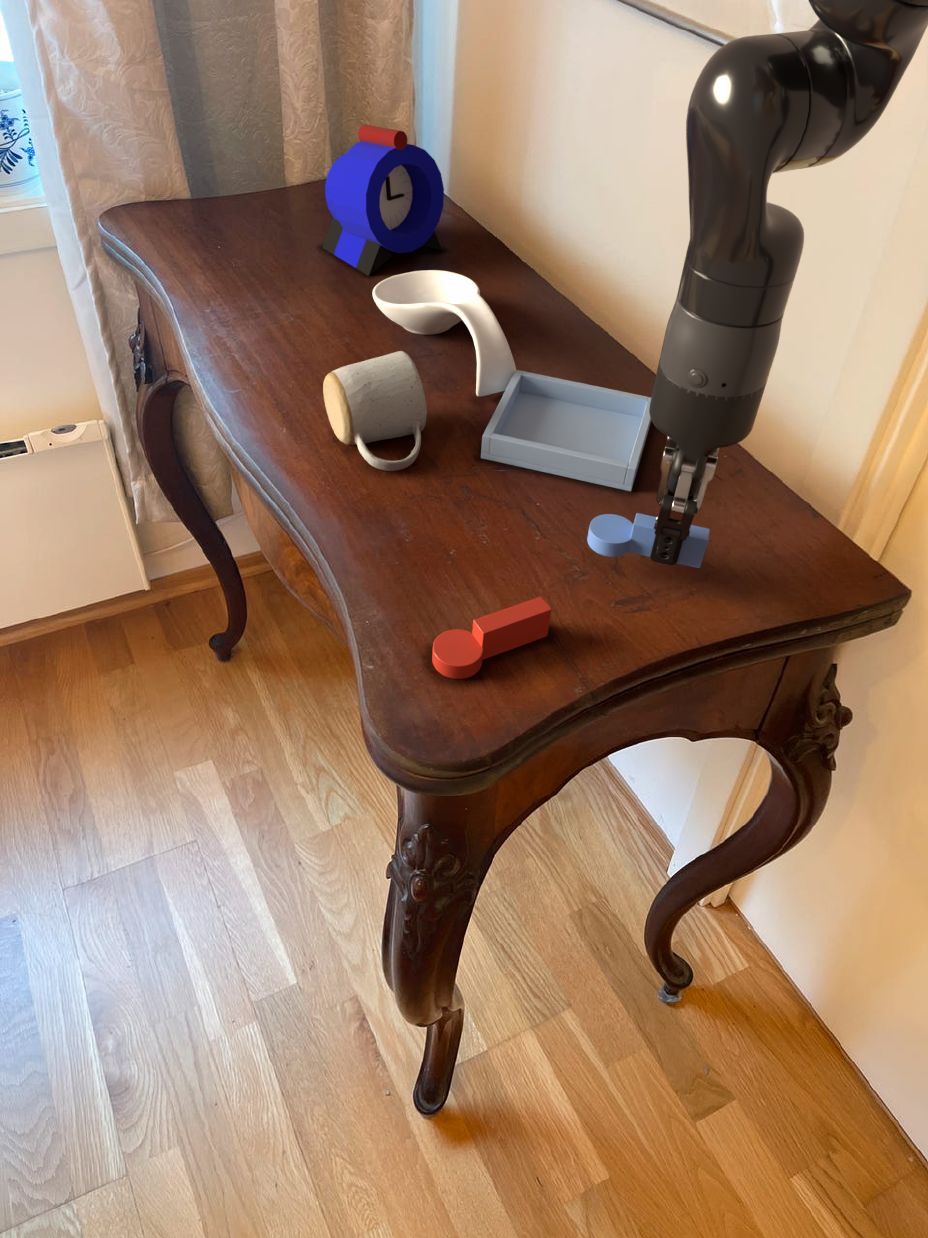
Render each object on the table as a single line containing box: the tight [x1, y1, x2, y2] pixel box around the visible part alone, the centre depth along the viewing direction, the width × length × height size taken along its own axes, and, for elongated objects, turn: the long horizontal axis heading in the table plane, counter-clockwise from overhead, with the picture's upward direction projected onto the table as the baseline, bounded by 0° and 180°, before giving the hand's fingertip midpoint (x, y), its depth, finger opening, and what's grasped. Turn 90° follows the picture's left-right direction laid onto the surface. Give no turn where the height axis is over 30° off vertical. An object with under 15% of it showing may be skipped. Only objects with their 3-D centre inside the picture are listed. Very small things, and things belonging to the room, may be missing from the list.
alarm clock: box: [322, 124, 445, 277], centre depth 115 cm, size 12×12×15 cm
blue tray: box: [480, 369, 652, 492], centre depth 91 cm, size 15×13×3 cm
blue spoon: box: [586, 512, 711, 569], centre depth 77 cm, size 10×4×3 cm, turn 73°
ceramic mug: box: [322, 350, 428, 472], centre depth 87 cm, size 11×8×8 cm
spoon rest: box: [372, 269, 517, 398], centre depth 101 cm, size 24×12×7 cm, turn 28°
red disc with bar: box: [431, 596, 553, 680], centre depth 71 cm, size 10×4×3 cm, turn 118°
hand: (665, 551), depth 77 cm, fingers closed on blue spoon, 1 cm apart
